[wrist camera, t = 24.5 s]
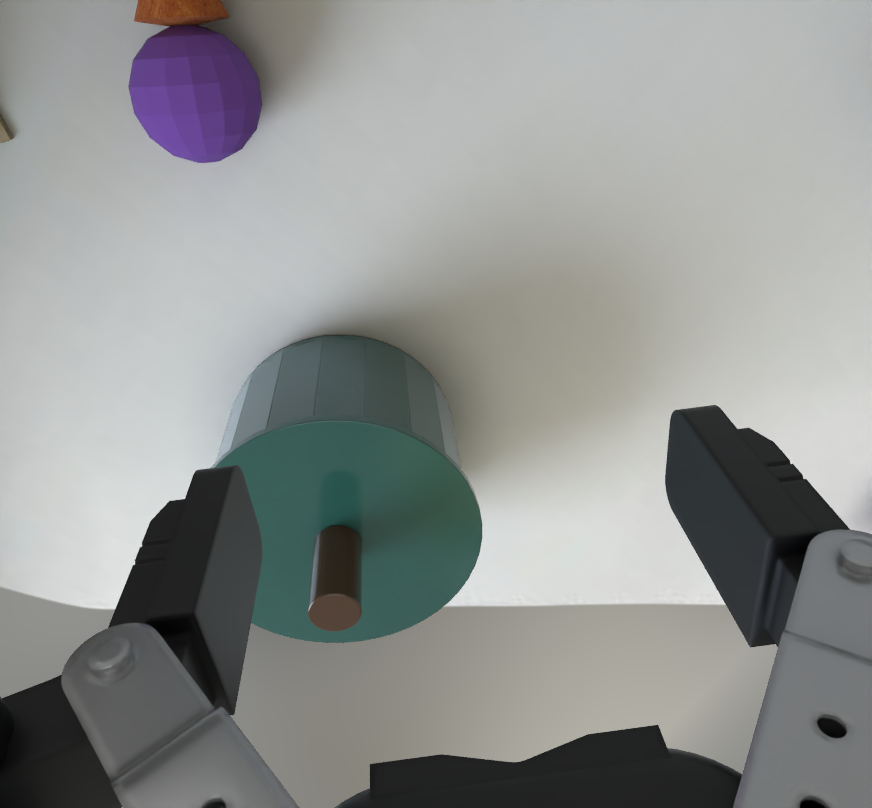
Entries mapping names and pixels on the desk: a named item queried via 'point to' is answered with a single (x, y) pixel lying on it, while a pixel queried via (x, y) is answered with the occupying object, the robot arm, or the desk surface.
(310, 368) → the pot
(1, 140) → the eiffel tower
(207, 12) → the kendama
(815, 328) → the desk surface
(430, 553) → the lid
